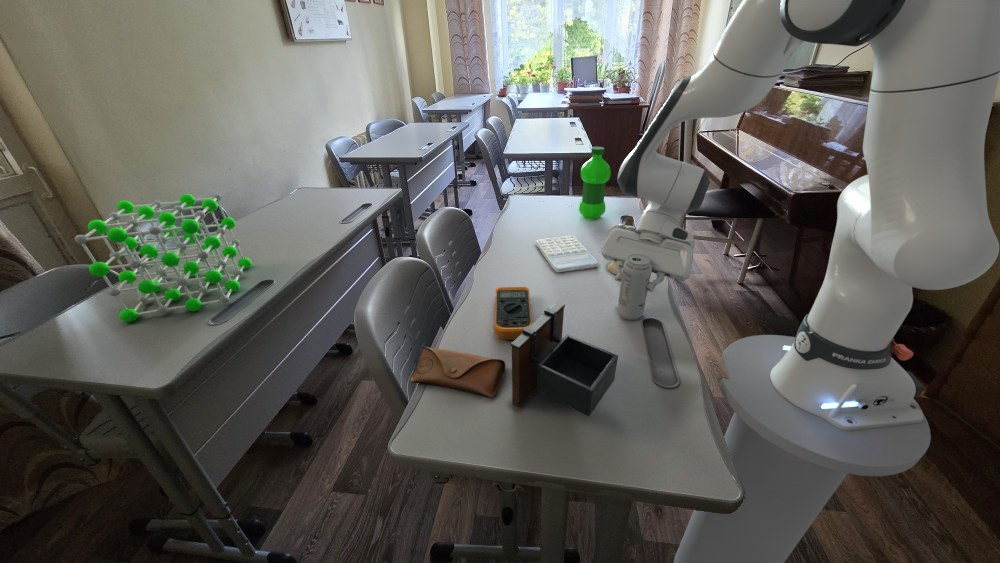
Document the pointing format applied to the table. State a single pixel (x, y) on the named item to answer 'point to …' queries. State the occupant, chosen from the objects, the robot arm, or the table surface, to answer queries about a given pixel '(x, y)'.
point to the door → (521, 354)
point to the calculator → (566, 253)
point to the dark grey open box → (573, 370)
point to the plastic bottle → (594, 185)
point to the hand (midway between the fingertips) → (633, 285)
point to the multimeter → (512, 312)
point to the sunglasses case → (459, 371)
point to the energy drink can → (634, 286)
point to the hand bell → (612, 265)
